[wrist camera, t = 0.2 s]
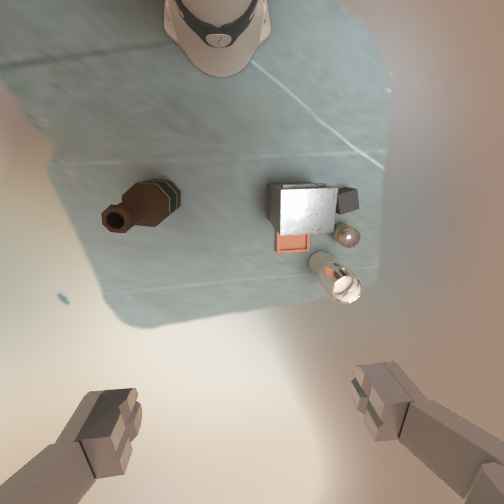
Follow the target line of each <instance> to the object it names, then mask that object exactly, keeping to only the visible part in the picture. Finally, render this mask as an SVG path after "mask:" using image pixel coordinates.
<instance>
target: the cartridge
mask: <svg viewBox="0 0 504 504" xmlns="http://www.w3.org/2000/svg"><path fill="white" fill-rule="evenodd" d="M330 234H331V237H332V238H333V239H335V240H336V241H338V242H339V243H340V244H341V245H343V246H345V247H348V248H350V247H354V246H355V245H356V244H357V243H358V242H359V240H360V233H359V232H358V231H357V230H356V229H355V228H353V227H350V226H348V225H346V224H344V223H337V224H335V225H334V233H330Z"/></svg>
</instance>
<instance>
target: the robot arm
mask: <svg viewBox="0 0 504 504" xmlns="http://www.w3.org/2000/svg"><path fill="white" fill-rule="evenodd" d="M170 20H171V21H170ZM264 22H265V23H264ZM164 28H165V32H166V34H167V35H168V36H169V37H170V38H171V39H172V40H173V41H175V42H176V43H177V44H179V45H180V46H181V48H182V49H183V50H184V52H185V53H186V55H187V57H188V58H189V59H190V61H191V62H192V63H193V64H194V65H195V66H196V67H197V68H198V69H199V70H201V71H202V72H204V73H206V74H208V75H211V76H214V77H228V76H232V75H234V74H236V73H238V72H240V71H241V70H242V69H243V68H245V67H246V65H247V64H248V63H249V62H250V60H251V58H252V56H253V55H254V53H255V51H256V49H257V48H258V46H260V45H261V44H262V43H263V42H265V41H266V40H267V39H268V37H269V35H270V31H271V26H270V20H269V13H268V6H267V0H165V6H164ZM353 374H354V376H355V378H354V379H353V380H352V381H351V387H350V389H351V395H352V398H353V401H354V403H355V405H356V407H357V409H358V410H359V411H360V412H362V413H363V414H364V415H365V418H364V422H365V424H366V426H367V428H368V430H369V431H370V433H371V435H372V437H373V439H374V441H375V442H376V441H387V440H397V439H399V442H400V443H402V444H403V445H404V446H405V447H406V448H407V449H408V450H409V451H410V452H412V453H413V454H414V455H415V456H416V457H417V458H418V459H419V460H420V461H422V462H423V463H424V464H425V465H426V466H427V467H428V468H429V469H431V470H432V471H433V472H434V473H435V474H436V475H437V476H438V477H439V478H441V479H442V480H443V481H444V482H445V483H446V484H447V485H448V486H449V487H451V488H452V489H453V490H454V491H455V492H456V493H457V494H459V496H461V497H462V498H463V501H462V503H461V504H504V442H503V441H501V440H500V439H498V438H497V437H495V436H493V435H491V434H490V433H488V432H486V431H485V430H483V429H481V428H479V427H478V426H476V425H475V424H473V423H471V422H469V421H468V420H466V419H464V418H463V417H461V416H459V415H458V414H456V413H454V412H452V411H451V410H449V409H447V408H445V407H444V406H442V405H441V404H439V403H437V402H436V401H434V400H428V399H427V398H426V396H425V395H424V394H423V393H422V392H421V391H420V390H419V388H418V387H417V386H416V385H415V384H414V383H413V382H412V380H411V379H410V378H409V377H408V376H407V375H406V373H405V372H404V371H403V370H402V369H401V368H400V366H399V365H398V364H397V363H395V362H394V361H393V362H383V363H372V364H364V365H356V366H355V367H354V368H353ZM137 396H138V393H137V390H136V388H129V389H116V390H104V391H92V392H89V393H87V394H86V395H85V396H84V397H83V399H82V401H81V402H80V404H79V406H78V407H77V409H76V410H75V412H74V414H73V415H72V417H71V418H70V420H69V421H68V423H67V425H66V426H65V428H64V430H63V431H62V433H61V434H60V436H59V437H58V439H57V441H56V442H55V444H51V445H49V446H47V447H46V448H45V449H44V450H42V451H41V452H40V453H39V454H38V455H36V456H35V457H34V458H33V459H32V460H30V461H29V462H28V463H27V464H26V465H24V466H23V467H22V468H21V469H20V470H19V471H17V472H16V473H15V474H14V475H12V476H11V477H10V478H9V479H8V480H6V481H5V482H4V483H3V484H2V485H1V486H0V504H78V502H79V501H80V500H81V499H82V497H83V496H84V495H85V494H86V492H87V491H88V490H89V489H90V487H91V486H92V485H93V484H94V482H95V479H99V478H105V477H111V476H117V475H124V474H125V471H126V468H127V465H128V462H129V458H130V456H131V453H132V447H131V444H130V443H131V442H132V440H133V439H134V438H135V437H136V436H137V435H138V432H139V429H140V425H141V419H142V408H141V404H140V403H138V402H137V401H136V399H137Z"/></svg>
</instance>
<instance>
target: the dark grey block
mask: <svg viewBox="0 0 504 504" xmlns="http://www.w3.org/2000/svg"><path fill="white" fill-rule="evenodd" d="M337 194H338V188H336V187H331V186H326V184H324V183H321V184H316V183H311V182H308V183H277V184H268V220H269V221H270V223H271V224H272V225H273V227H274V228H275V229H276V230H277V232H278V233H279V234H280V235H297V234H317V233H334V223H335V213H336V204H337Z"/></svg>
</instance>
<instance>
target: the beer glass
mask: <svg viewBox="0 0 504 504" xmlns="http://www.w3.org/2000/svg"><path fill="white" fill-rule="evenodd" d="M309 267H310V269H311V270H312V271H313V272H315V273H316V274H317V276H318V278H319V281H320V283H321V285H322V287H323V288H324V290H325V291H326V292H327V293H328V294H329V295H330V296H331V297H332V298H333V299H334V301H336V302H337V303H339V304H349V303H352V302H354V301H355V300H357V299H358V298H359V297H360V295H361V293H362V291H363V284H362V281H361V280H360V279H359V278H358V277H357V276H356V275H355V274H354V273H353V272H352V271H351V270H350V269H349V268H348V267H346V266H345V265H343V264H341V263H339V262H337V261H335V260H333V259H332V257H331V256H330V254H329V253H327V252H325V251H317V252H315V253H314V254H312V255H311V257H310V259H309Z"/></svg>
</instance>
